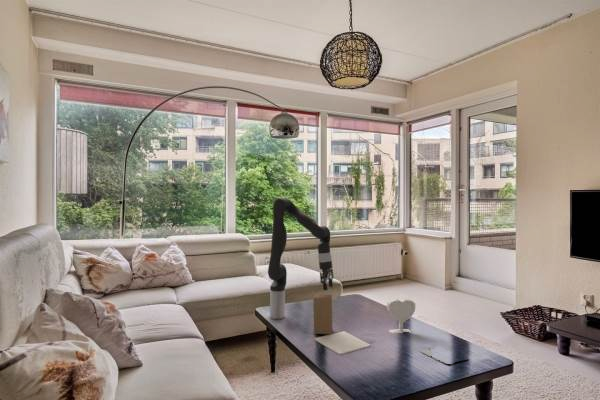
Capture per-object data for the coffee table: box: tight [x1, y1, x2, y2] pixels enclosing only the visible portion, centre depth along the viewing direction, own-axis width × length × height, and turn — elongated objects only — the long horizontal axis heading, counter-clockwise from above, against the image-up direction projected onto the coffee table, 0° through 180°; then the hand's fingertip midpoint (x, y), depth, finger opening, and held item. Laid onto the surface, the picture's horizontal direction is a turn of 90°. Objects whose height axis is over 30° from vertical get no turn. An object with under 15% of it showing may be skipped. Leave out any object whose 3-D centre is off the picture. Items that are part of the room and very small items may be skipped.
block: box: [313, 293, 333, 335], centre depth 204 cm, size 10×10×20 cm
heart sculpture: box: [386, 298, 416, 334], centre depth 206 cm, size 16×5×18 cm, turn 96°
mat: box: [314, 330, 372, 356], centre depth 190 cm, size 22×20×1 cm
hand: (328, 288), depth 212 cm, fingers open, 8 cm apart
